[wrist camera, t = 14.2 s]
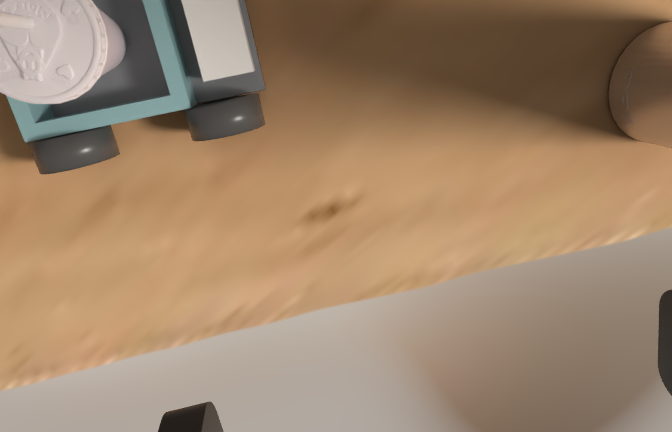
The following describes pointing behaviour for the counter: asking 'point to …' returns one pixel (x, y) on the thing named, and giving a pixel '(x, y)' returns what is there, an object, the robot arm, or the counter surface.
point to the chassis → (155, 82)
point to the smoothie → (55, 49)
